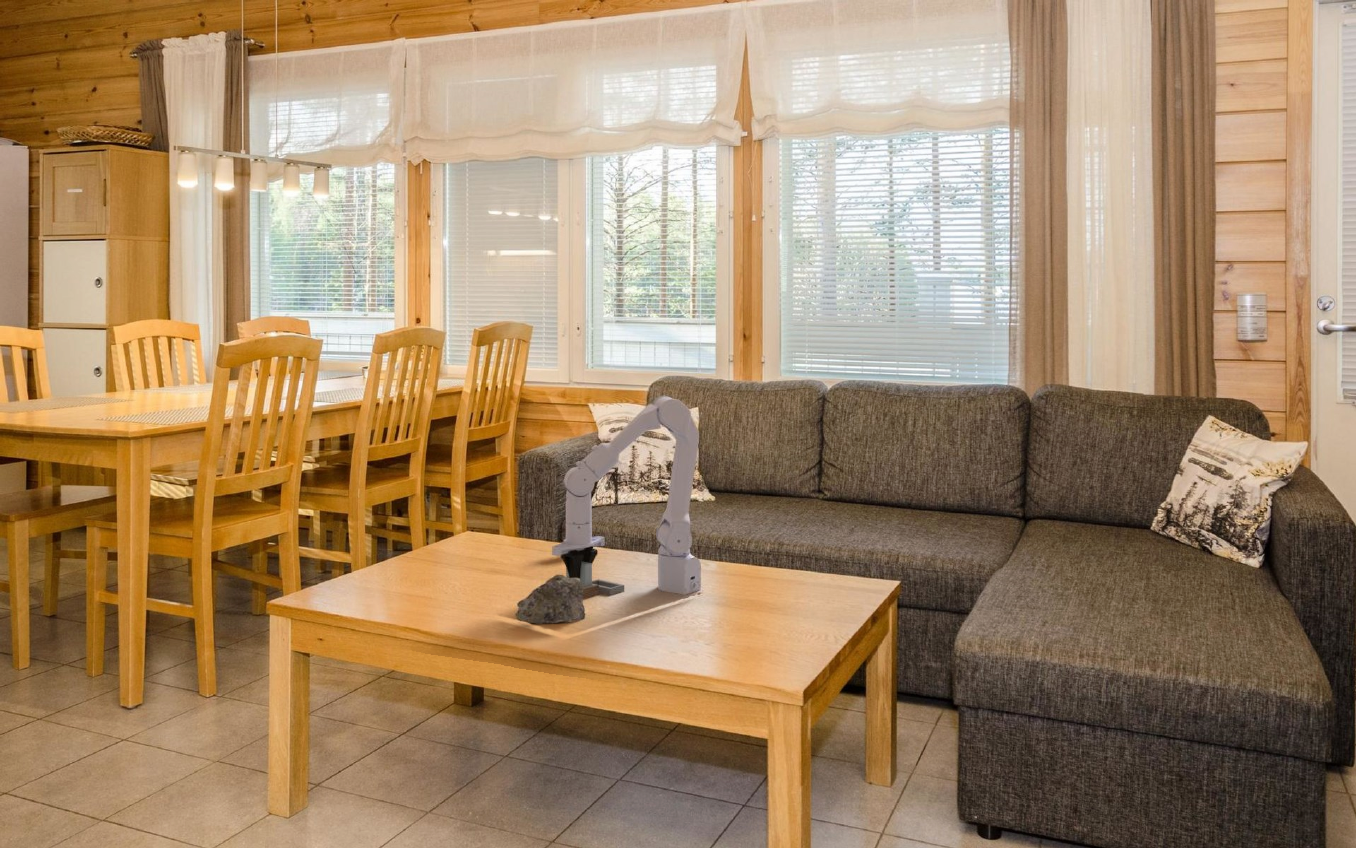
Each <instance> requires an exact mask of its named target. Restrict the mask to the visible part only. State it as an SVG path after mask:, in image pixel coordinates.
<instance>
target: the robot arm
mask: <svg viewBox="0 0 1356 848" xmlns="http://www.w3.org/2000/svg"><path fill="white" fill-rule="evenodd" d="M662 427H664V428H665V429H667V431H668V432H669V434H671V436H672V437H673V438H674V439H675V445H674V447H675V448H674V453H673V462H672V466H671V467H672V468H671V475H670V482H669V488H668V489H669V490H668V497H667V503H666V509H665V511H663V514H662V520H661V522H660V524H658V527H657V528H656V539H657V541H658V542H659V543H660V547H659V548H658V550H657V552H658V553H657V589H658V590H659V591H662V592H665V593H667V592H668V593H673V594H674V593H675V594H680V595H682V596H683V595H688V594H691V593H694V592H697V591H703V588H702V587H701V585H702V581H701V580H702V564H701V561H700V559H699V558H698V557H696V556H694V555H692V553H691V547H692V544H693V536H692V533H691V519H690V513H689V512H690V506H691V498H692V492H693V484H694V478H695V469H696V463H697V456H698V450H699V449H698V448H699V443H700V442H699V441H700V432H699V430H698V428H697V426H696V423H695V421H694V418H693V416H692V413H691V409H690V408H688V407H687V405H685V403H683V402H682V401H681V400H679V399H677V398H676V399H675V398H672V397H670V396H667V395H661V396H658V397H657V398H655V399H654V401H652V403H649V404H648V405H646V406H645V407H644V408H642V410H641V411H640V412H639V413H638V414H637V415H635V417H634V418H633V419H632V420H631V421H630V422H629V423H628V424H627V425H626V426H625V427H624V428H623V429H622V430H621V431H620V432H619V433H618V434H617V435H616V436H615V437H614V438H613V439H612V440H611V441H609V442H600V443H599V444H598V445H597V444H594V445H593V446H592V447H591V450H592V451H590V452H589V453H588V454H587V456H585V457H584V458H582V460H581V461H579V460H578V461H577V462H575V465H576V467H571V468H570V469H569V470H567V471H566V473H565V475H564V479H562V481H563V482H562V483H563V485H564V487H565V488H566V494H565V497H566V499H565V539H563V542H560V543H559V544H556V545H553V546H551V552H552V553H551V556H555V557H560V558H561V559H562V562H563V563H564V565H565V569H566V568H567V571H568V574H569V578H579V579H580V570H581V564H582V561H583V562H588V563H592V564H593V563H594V561H595V559H596V557H597V556H598V554H599V553H598V549H595V547H603V546H606V545H605V543H606V541H605V536H602V535H601V536H599V535H596V536H592V535H593V531H592V530H593V519H592V517H593V516H592V515H593V511H592V510H593V506H592V505H593V502H592V491H593V490H594V487H595V483H596V482H598V481H600V480H601V479H602V478H603V477H604V476H605V475H607V473H608V472H610V471H611V470H612V469H613V468H614V467H615V466H616V465H617V464H618V463H619V461H620V460H619V459H620V454H621V453H622V452H624V450H626V449H627V448H628V447H629V446H630V445H632V444H633V443H634V442H635V441H636V440H638V439H639V438H640V437H641V436H642V435H643V434H644V433H646V432H647V431H652V430H660V429H662Z"/></svg>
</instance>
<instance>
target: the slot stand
mask: <svg viewBox="0 0 1356 848" xmlns="http://www.w3.org/2000/svg"><path fill="white" fill-rule="evenodd" d="M596 584H597V585H599V594H601V595H602V594H603V595H607V596H612V595H616V594H619V593H624V592H625V584H622V583H617V582H612V581H609V580H605V579H600V578H599V579H598V578H597V579H595V580H592V586H593V585H596Z"/></svg>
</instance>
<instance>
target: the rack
mask: <svg viewBox="0 0 1356 848" xmlns="http://www.w3.org/2000/svg"><path fill="white" fill-rule="evenodd" d="M582 591H583V600H585V599H589V598H591V597H592V598H593V597H596V596H599V594H600V593H599V585H597V584H596V585H593V586H589V587H585V588H582Z"/></svg>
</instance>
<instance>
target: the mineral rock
mask: <svg viewBox="0 0 1356 848" xmlns="http://www.w3.org/2000/svg"><path fill="white" fill-rule="evenodd" d="M582 588H583V586H582V583H581V581H580V579H579V578H566V575H563V574H560V573H559V574H555V575H554V576H553V577H550V578H548V579H547V580H546V582H545V583H543V584H541V585H539V586H538V587H537V588H534V589H533V590H532V591H531V592H530V593H529V594H528V595H527V596H526V597H525V598H522V599H521V600H519V601H518V602H517V605H516V606H517V607H518V608H517V612H516V613H515V617H516V619H517V620H518V621H519V622H522V623H523V622H524V623H529V624H536V625H538V624H539V625H544V624H545V625H547V624H557V623H563V624H564V623H573V622H578V621H582V620H584V619H586V613H585V612H586V610H585V606H584V599H583V591H582Z"/></svg>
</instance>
